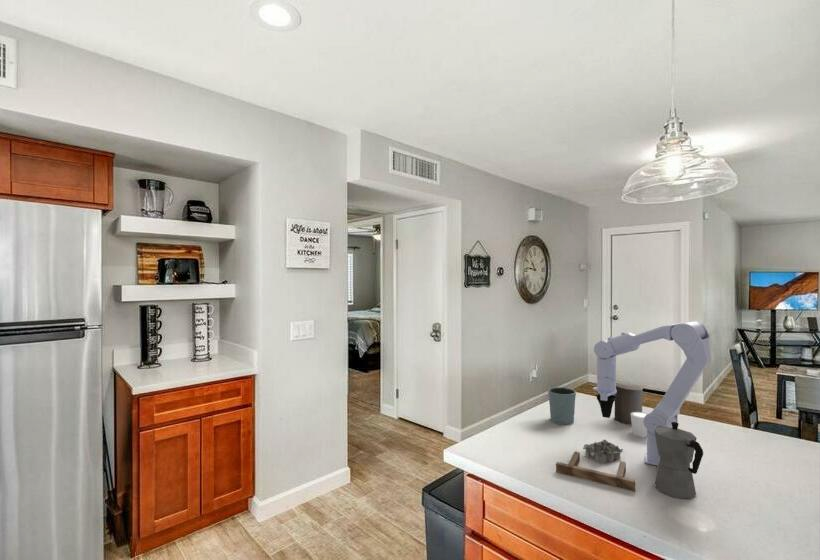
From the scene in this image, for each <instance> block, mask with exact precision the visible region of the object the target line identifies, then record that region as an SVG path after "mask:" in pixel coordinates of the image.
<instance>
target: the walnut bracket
mask: <svg viewBox="0 0 820 560" xmlns="http://www.w3.org/2000/svg"><path fill="white" fill-rule="evenodd" d="M580 455H581V454H580V451H574V452H573V453H572V455H571V458H570V460H569V462H567V463H564V462H559V461H556V462H555V463H556V464H555V473H557V474H560V475H561V474H562V475H565V476H566V475H567V476H570V477H574V478H577V479H582V480H585V481H589V482H595V483H599V484H602V485H607V486H610V487H615V488H618V489H619V488H620V489H623V490H627V491H631V492H636V479H635V478H631V477H626V469H627V467H626V466H627V464H626V462H625V461H619V464H618V467H617V472H616V474H613V473H609V472H603V471H600V470H595V469H591V468H586V467H583V466H582V467H581V466H578V465H579V463H580V462H581V460H580V459H581V457H580Z"/></svg>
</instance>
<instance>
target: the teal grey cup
mask: <svg viewBox="0 0 820 560" xmlns="http://www.w3.org/2000/svg"><path fill="white" fill-rule="evenodd" d="M547 391H548V398H549V399H548V400H549V401H548V403H549V414H550V421H551V422H552V423H554V424H557V425H561V424H562V425H564V426H570V425H573V424H574V422H575V412H576V411H575V410H576V398H577V397H576V396H577V395H576V394H577V392H576V390H574V389H572V388H569V387H562V386H554V387H550V388H548V390H547Z"/></svg>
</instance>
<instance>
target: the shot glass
mask: <svg viewBox="0 0 820 560" xmlns="http://www.w3.org/2000/svg"><path fill="white" fill-rule="evenodd" d="M647 414H648V413H647V412H643V411H642V412H632V413H631V423H632V425H631V429H632V430H631V432H632V435H634V436H637V437H641V438H647V429H646V428H645V426H644V422H643V420H644V417H645V416H646V415H647Z"/></svg>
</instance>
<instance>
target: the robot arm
mask: <svg viewBox="0 0 820 560" xmlns="http://www.w3.org/2000/svg"><path fill="white" fill-rule="evenodd" d="M710 337H711V335H710V333H709V332H708V329H707V328H706V326H705V325H704V323H701V322H699V321H697V320H690V321H687V322H679V323H673V324H668V325H667V324H666V325H662V326H660V327H659V326H658V327H656V328H653V329H651V330H647V331H645V332H641V333H638V334H634V333H633V332H627V331H624V332H620V335H617V336H615V337H614V336H613V337H612V336H610V337H607V339H605V340H599V341H597V342H596V343H595V344H594V346H593V352H594V354H595V355H596V368H597V369H596V386H595V387H594V386H593V387H592V390H593V391H596V392H597V394H596V400H597V402H598V404H599V406H600V412H601V416H602V417H603V418H606V419H610V418H611V414H612V411H613V405H614V403H615V399H616V395H615V394H616V393H617V390H616V383H617V356H619V355H624V354H627V353H630V352H635V351H638V350H639V348H640V346H641V345H642V344H647V343H651V342H654V341H659V340H661V339H664V340H667V341H670V342H671V341H674V342H675V344H676V345H677V346H679V348H680V349H681V350H682V351H683V353H684V355H685V357H686V359H685V360H684V362H683V364H682V366H681V367H680V369H679V371H678V373H676V376H675V377H674V379H673V381H672V382H671V384H670V385H669V386H668V389H667V390H666V392H665V394H664V395H663V397H662V399H661V400H660V401H659V403H657V405H655V407H654V408H653V409H652V411H651V412H649V413H647V415H646V416H645V417H644V420H643V422H644V426H645V428H646V429H647V437H646V452H645V456H644V464H647V465H652V466H657V467H658V464H659V462H660V456H659V454H658V450H657V444H656V437H655V431H654V429H657V427H656V426H665V427H669V428H672V424H671V422H677V423H678V416H679V415H680V412H681V407H682V406H683V404H684V403H685V402H686V399H687V398H688V396H689V395H690V393H691V391H692V390H693V389H694V387H695V385H696V384H697V382H698V381H699V379H700V377H701V376H702V375H703V373H704V371H705V370H706V367H708V365H709V364H710V362H711V359H712V358H711V357H712V355H711V347H710V346H711V345H710Z"/></svg>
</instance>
